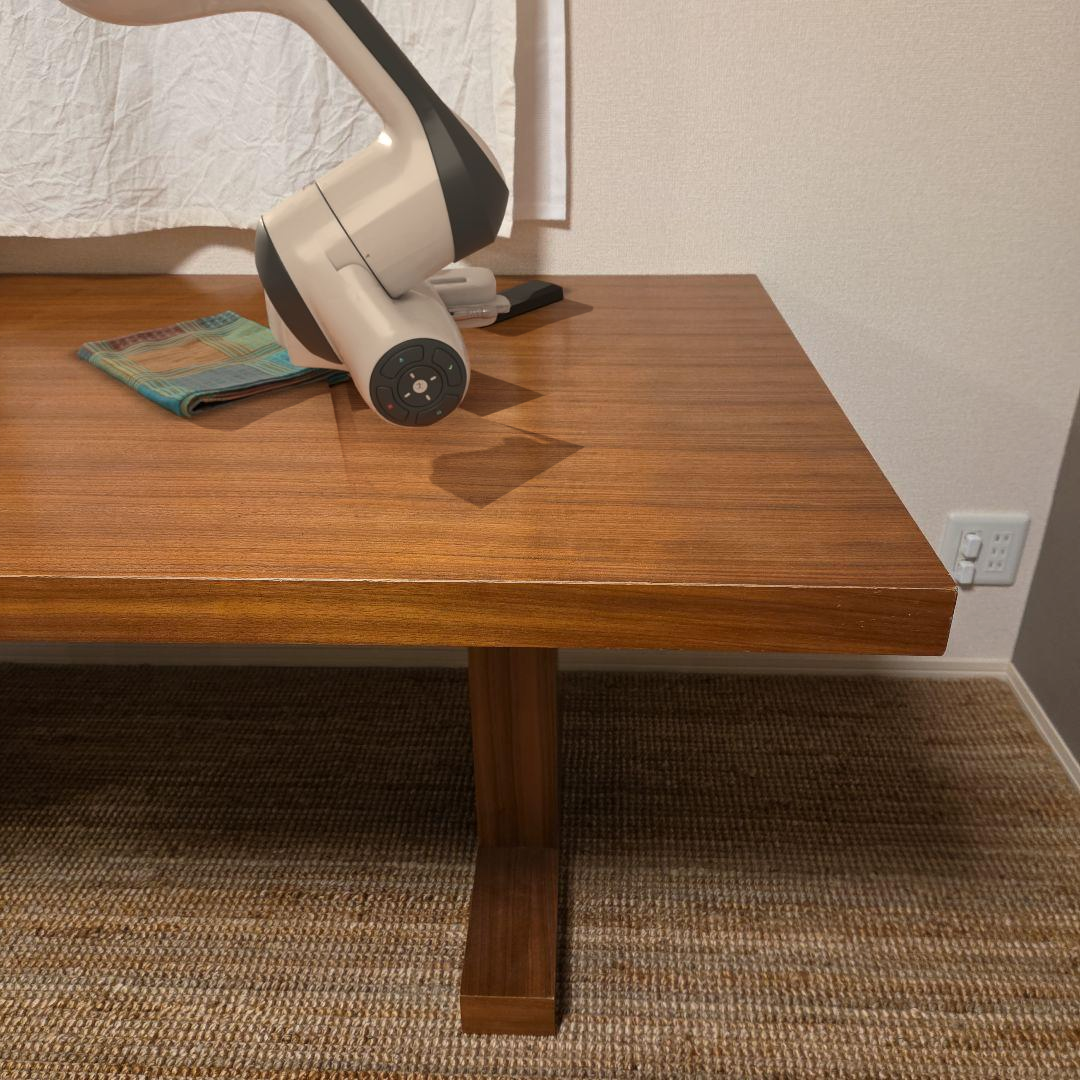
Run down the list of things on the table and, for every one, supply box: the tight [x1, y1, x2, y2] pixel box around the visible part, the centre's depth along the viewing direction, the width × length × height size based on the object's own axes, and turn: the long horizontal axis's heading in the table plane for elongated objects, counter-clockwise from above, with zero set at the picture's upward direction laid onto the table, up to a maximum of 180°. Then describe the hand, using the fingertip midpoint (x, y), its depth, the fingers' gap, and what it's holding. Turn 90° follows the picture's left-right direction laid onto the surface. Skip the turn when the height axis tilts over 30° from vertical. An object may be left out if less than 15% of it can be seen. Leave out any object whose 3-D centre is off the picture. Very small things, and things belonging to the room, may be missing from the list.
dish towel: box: [77, 310, 351, 418], centre depth 96 cm, size 17×23×2 cm
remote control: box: [486, 279, 565, 327], centre depth 114 cm, size 5×2×15 cm
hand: (374, 279), depth 95 cm, fingers open, 8 cm apart
